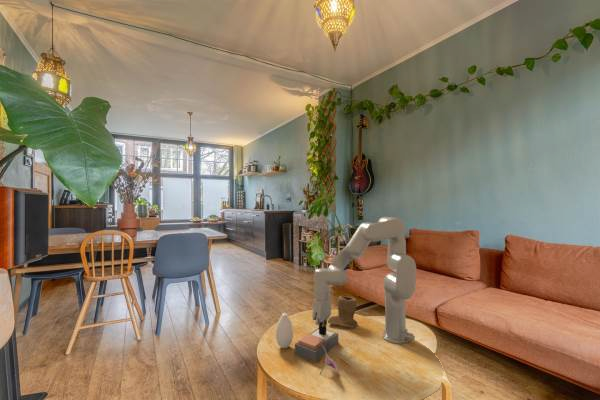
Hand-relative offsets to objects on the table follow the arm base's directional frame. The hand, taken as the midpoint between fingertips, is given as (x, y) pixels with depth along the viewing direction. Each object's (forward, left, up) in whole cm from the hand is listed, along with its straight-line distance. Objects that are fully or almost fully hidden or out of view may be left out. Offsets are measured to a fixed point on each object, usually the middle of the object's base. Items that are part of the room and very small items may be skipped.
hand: (322, 333), depth 131 cm
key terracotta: (0, +9, -1) cm, 10 cm away
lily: (-14, +17, -5) cm, 22 cm away
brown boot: (+2, -25, -5) cm, 26 cm away
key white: (0, 0, -2) cm, 3 cm away
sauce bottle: (+13, +13, -5) cm, 19 cm away
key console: (0, +5, -5) cm, 7 cm away
